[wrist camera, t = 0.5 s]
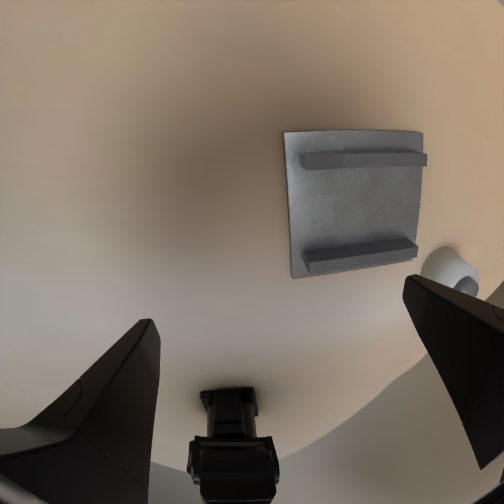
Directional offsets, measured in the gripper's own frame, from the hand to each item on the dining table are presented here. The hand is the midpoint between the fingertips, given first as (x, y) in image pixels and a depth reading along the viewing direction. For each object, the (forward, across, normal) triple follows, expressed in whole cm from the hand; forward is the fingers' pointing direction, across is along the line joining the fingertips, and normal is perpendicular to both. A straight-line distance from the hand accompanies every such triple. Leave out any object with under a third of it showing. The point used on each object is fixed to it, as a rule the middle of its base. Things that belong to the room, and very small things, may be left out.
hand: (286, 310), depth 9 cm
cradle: (+14, -9, +2) cm, 16 cm away
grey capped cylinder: (+14, -19, +10) cm, 25 cm away
